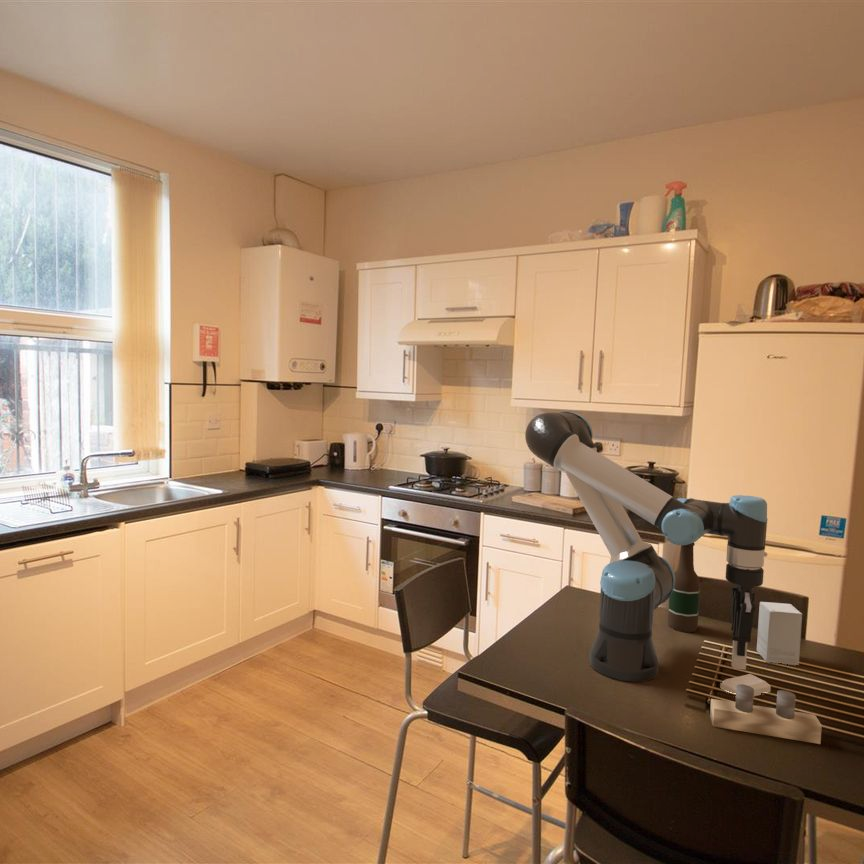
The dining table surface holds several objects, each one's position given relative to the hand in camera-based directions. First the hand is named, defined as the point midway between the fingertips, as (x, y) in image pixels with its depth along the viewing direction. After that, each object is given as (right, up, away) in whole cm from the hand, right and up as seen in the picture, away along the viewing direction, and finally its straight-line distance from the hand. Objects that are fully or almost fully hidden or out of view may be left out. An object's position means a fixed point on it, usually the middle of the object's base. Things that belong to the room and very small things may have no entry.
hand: (738, 667), depth 139 cm
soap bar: (-2, -3, -7) cm, 8 cm away
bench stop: (-7, -3, -23) cm, 24 cm away
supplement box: (+14, -2, +10) cm, 17 cm away
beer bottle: (-1, 0, +28) cm, 28 cm away
